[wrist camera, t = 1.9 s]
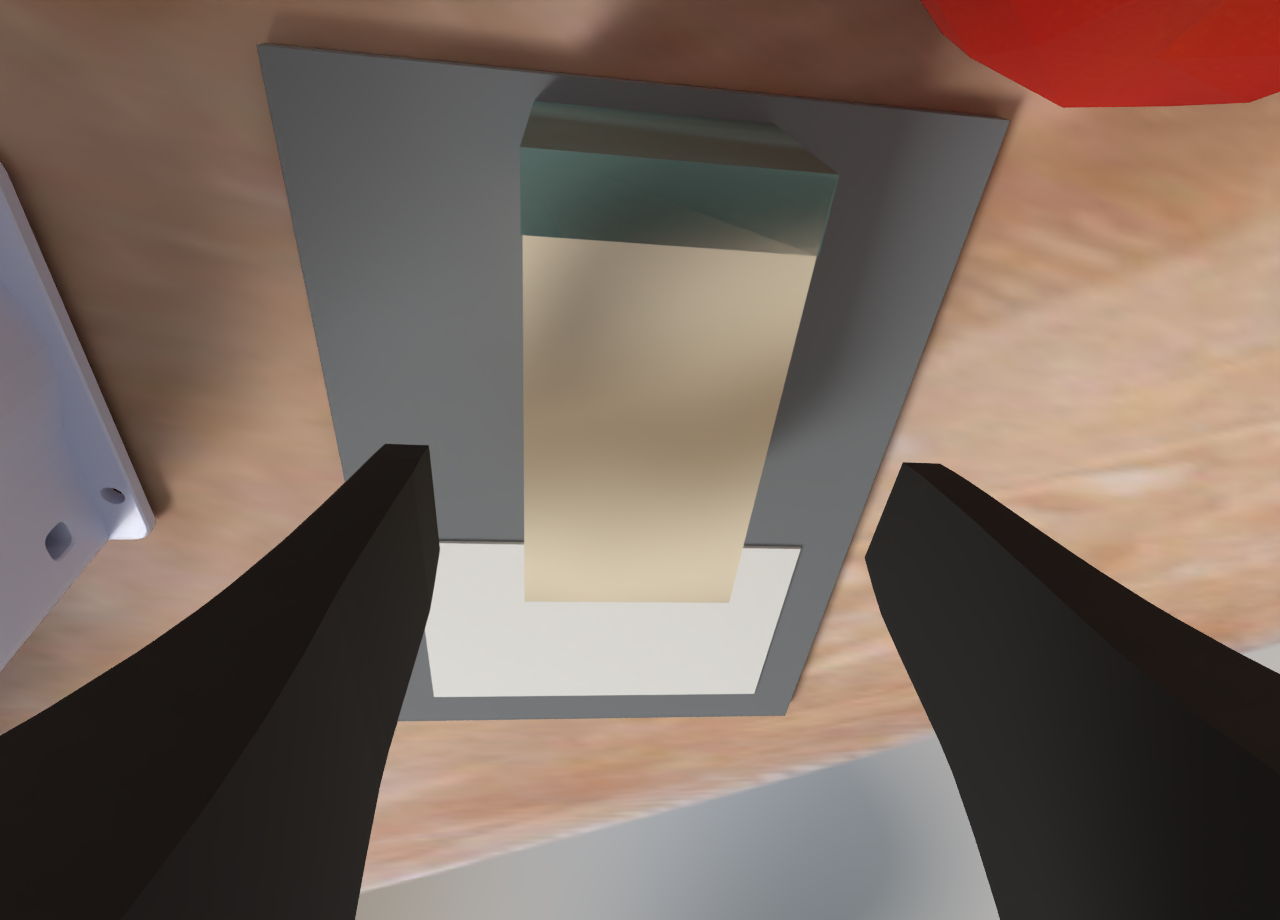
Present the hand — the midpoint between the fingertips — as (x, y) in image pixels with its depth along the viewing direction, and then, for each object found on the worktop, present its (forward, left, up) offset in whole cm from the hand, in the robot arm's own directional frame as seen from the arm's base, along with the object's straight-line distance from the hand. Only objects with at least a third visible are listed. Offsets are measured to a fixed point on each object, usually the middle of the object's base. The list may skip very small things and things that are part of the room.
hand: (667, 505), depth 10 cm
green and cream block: (0, 0, -6) cm, 6 cm away
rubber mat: (-5, 0, -7) cm, 8 cm away
